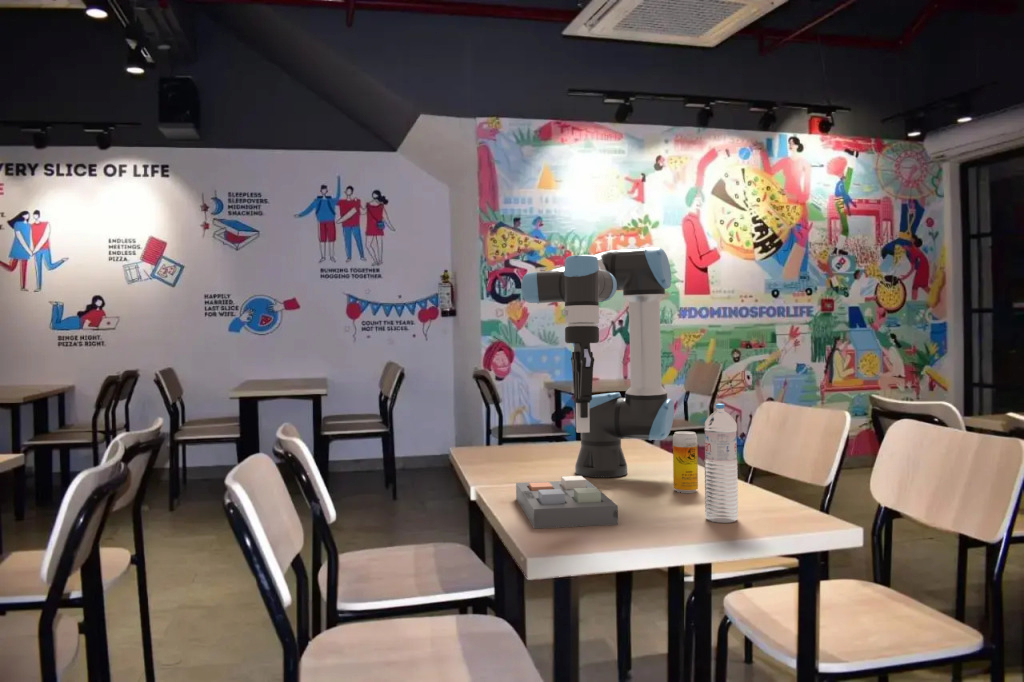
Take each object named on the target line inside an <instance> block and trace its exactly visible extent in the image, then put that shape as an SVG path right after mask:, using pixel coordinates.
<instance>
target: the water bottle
mask: <svg viewBox="0 0 1024 682" xmlns="http://www.w3.org/2000/svg"><path fill="white" fill-rule="evenodd" d="M725 406H726V404H725V403H716V404H715V411H713V413H711V414H709V416H708V417H707V418H706V420H705V421H704V423H703V426H704V427H703V428H704V505H705V506H704V507H705V508H704V512H705V518H706V520H708V521H709V522H713V523H718V524H719V523H720V524H721V523H722V524H730V523H734V522H737V520H738V519H739V515H738V514H739V507H738V506H739V503H738V502H739V498H738V496H739V491H738V489H739V487H738V483H739V482H738V479H739V478H738V475H739V474H738V456H737V455H738V451H737V449H738V447H737V445H738V444H737V431H738V424H737V422H736V420H735V418H733V416H732V415H731V414H729V413H728V412H726V411H725Z"/></svg>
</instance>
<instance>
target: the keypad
mask: <svg viewBox="0 0 1024 682" xmlns="http://www.w3.org/2000/svg"><path fill="white" fill-rule="evenodd" d="M540 482H541V481H531V482H529V481H528V482H526V481H525V482H524V481H523V482H515V497H516V501H517V502H518V504H519V506H520V508H521V509H522V511H523V512H524V514H525V516H526V517H527V518H528V519H527V520H529V522H530V524H531V526H532V527H533V529H547V528H549V529H553V528H572V527H590V526H591V527H593V526H614V525H619V505H617V504H616V503H615V502H614V501H613V500H612V499H611V498H610V497H608V496H607V495H606V494H605V493H603V492H602V491H601V490H600V489H599V488H597V487H596V486H595V485H594V484H593V483H591V482H590V481H589V480H587V479H586V488H596V489H598V490H599V491H600V492H601V502H588V503H576V502H575V501H574V489H566V490H564V489H563V488H562V487H561V480H557V481H555V480H554V481H548V482H549V483H550V484H551V485H552V486H553V489H561V490H562V491H563V492H564V493H565V504H542V505H540V504H539V502H538V491H530V490H529V483H540Z"/></svg>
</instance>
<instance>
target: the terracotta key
mask: <svg viewBox="0 0 1024 682" xmlns="http://www.w3.org/2000/svg"><path fill="white" fill-rule="evenodd" d="M539 482H540V483H529V490H530V491H538V490H547V489H553V486H552V485H551V484H550V483H549V482H550V481H539Z"/></svg>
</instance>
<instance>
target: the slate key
mask: <svg viewBox="0 0 1024 682" xmlns="http://www.w3.org/2000/svg"><path fill="white" fill-rule="evenodd" d="M538 502H539V504H540V505H542V504H565V493H564V492H563V491H562V490H561V489H547V490H538Z"/></svg>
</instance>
